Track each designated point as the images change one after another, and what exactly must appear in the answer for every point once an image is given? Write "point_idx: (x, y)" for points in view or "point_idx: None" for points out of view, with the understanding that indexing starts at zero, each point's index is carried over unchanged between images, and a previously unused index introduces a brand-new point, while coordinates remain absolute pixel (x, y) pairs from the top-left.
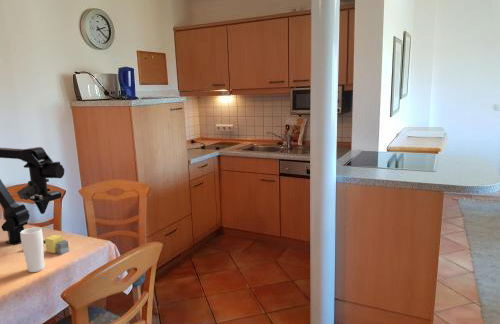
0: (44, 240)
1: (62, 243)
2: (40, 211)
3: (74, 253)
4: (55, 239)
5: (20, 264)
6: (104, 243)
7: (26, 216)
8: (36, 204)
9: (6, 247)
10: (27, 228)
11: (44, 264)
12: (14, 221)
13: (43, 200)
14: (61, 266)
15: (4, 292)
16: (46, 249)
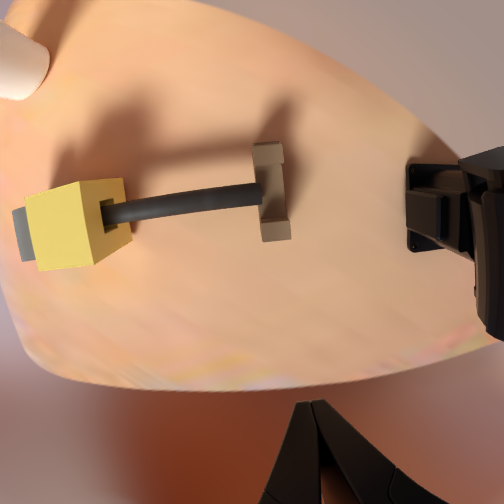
0: (157, 208)
1: (14, 225)
2: (323, 420)
3: None
4: (30, 216)
5: (122, 40)
6: (37, 356)
7: (495, 304)
8: (413, 499)
9: (414, 125)
10: None
11: (10, 99)
12: (498, 169)
13: None
14: None
15: None
16: (116, 178)
